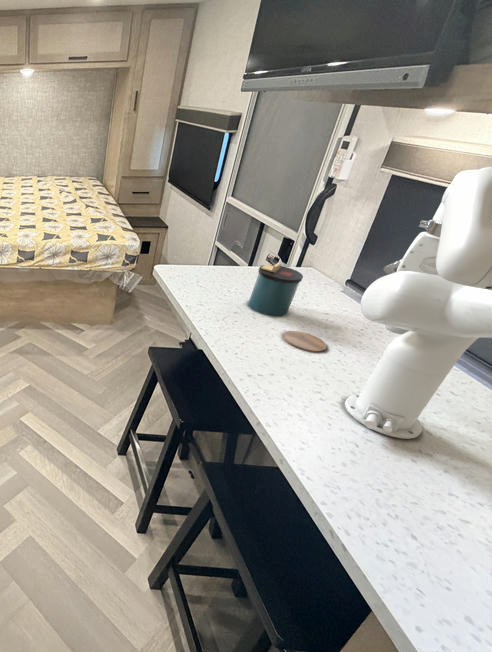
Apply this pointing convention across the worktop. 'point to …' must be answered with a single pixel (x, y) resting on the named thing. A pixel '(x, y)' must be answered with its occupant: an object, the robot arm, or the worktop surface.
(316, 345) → the coaster
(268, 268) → the slider
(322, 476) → the worktop surface
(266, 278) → the teal cylinder tin
